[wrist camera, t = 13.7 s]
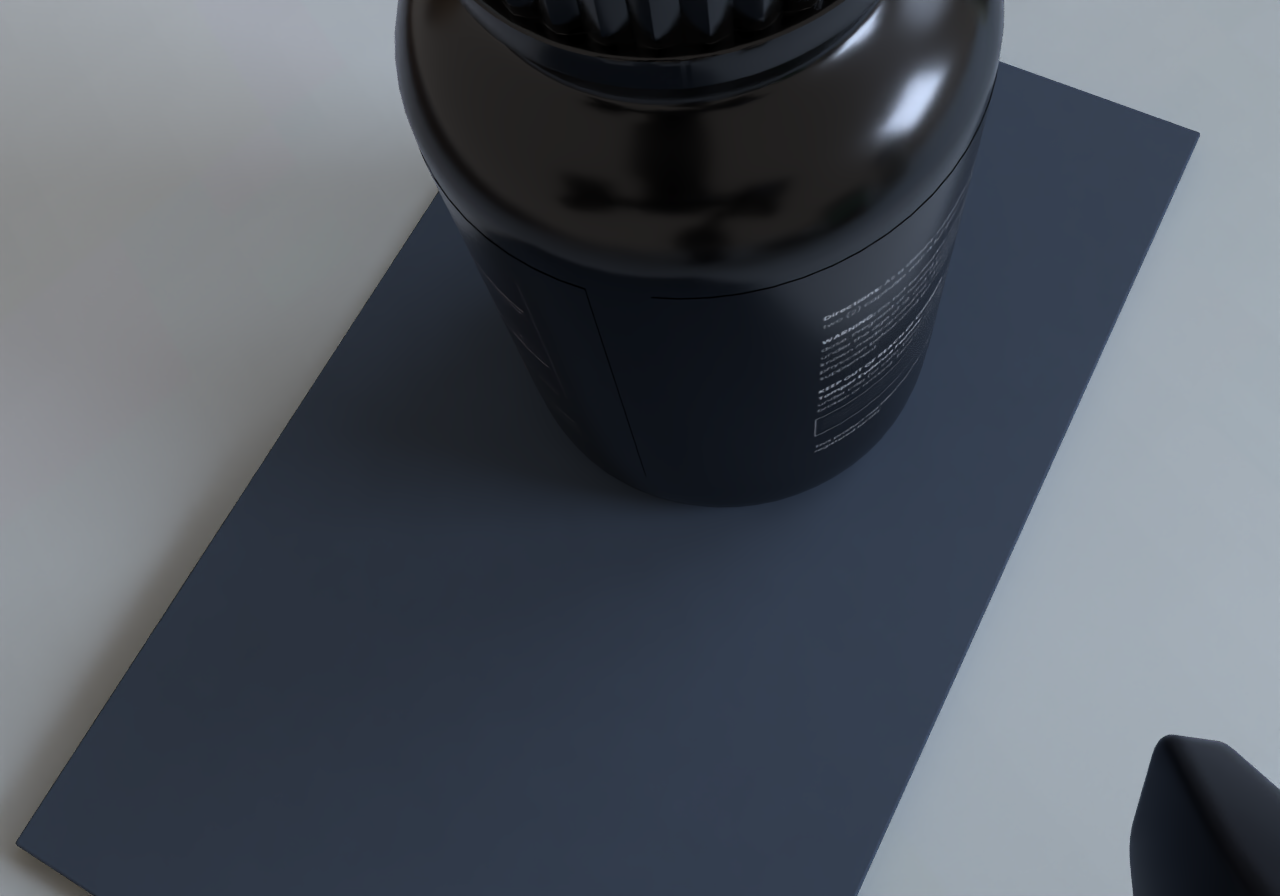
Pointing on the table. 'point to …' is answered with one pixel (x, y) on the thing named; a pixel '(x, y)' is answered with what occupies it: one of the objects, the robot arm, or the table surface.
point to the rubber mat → (602, 594)
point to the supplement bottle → (708, 214)
